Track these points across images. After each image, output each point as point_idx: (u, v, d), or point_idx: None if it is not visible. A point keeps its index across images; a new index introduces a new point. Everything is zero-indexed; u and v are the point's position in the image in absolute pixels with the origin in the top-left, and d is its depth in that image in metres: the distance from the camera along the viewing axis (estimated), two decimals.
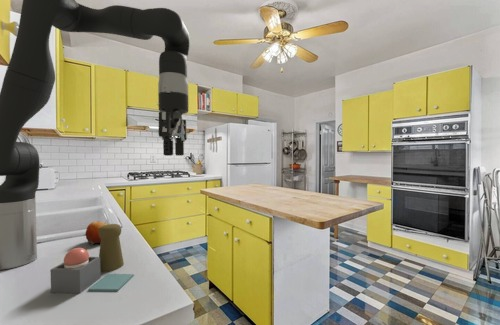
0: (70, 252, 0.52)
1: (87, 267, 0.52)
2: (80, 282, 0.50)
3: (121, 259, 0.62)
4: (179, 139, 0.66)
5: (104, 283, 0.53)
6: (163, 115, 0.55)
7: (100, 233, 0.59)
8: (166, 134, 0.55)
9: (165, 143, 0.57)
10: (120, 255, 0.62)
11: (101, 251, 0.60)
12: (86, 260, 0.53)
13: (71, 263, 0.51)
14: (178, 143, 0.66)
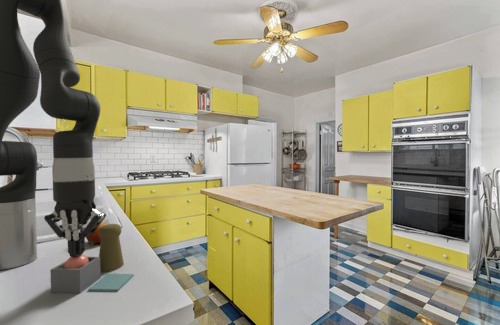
0: (70, 259, 0.52)
1: (87, 267, 0.52)
2: (80, 282, 0.50)
3: (121, 259, 0.62)
4: None
5: (104, 283, 0.53)
6: (100, 219, 0.52)
7: (100, 233, 0.59)
8: (91, 232, 0.53)
9: (81, 243, 0.52)
10: (120, 255, 0.62)
11: (101, 251, 0.60)
12: None
13: None
14: None
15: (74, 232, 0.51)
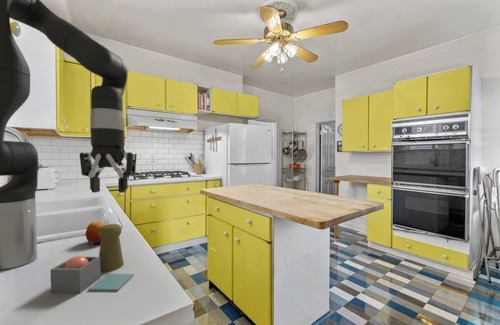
0: (70, 261, 0.52)
1: (87, 267, 0.52)
2: (80, 282, 0.50)
3: (121, 259, 0.62)
4: (96, 174, 0.61)
5: (104, 283, 0.53)
6: (133, 156, 0.61)
7: (100, 233, 0.59)
8: (133, 173, 0.62)
9: (125, 181, 0.61)
10: (120, 255, 0.62)
11: (101, 251, 0.60)
12: None
13: None
14: (96, 179, 0.61)
15: (117, 172, 0.60)
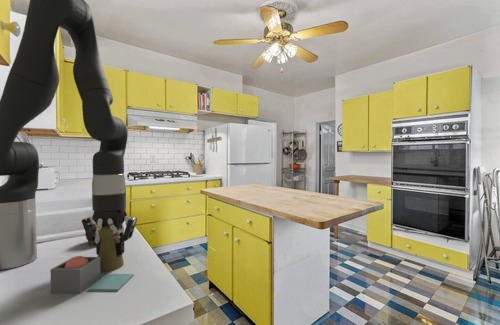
0: (70, 261, 0.52)
1: (87, 267, 0.52)
2: (80, 282, 0.50)
3: (121, 259, 0.62)
4: None
5: (104, 283, 0.53)
6: (134, 222, 0.61)
7: (100, 233, 0.59)
8: (130, 236, 0.62)
9: (122, 245, 0.61)
10: None
11: (101, 251, 0.60)
12: None
13: None
14: None
15: (115, 237, 0.60)
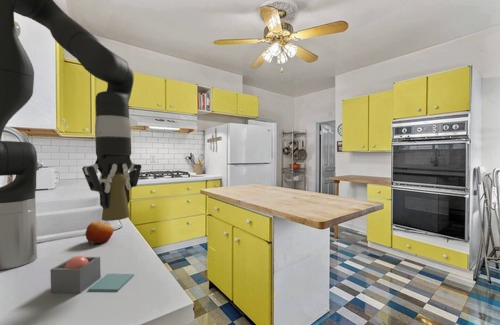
0: (70, 261, 0.52)
1: (87, 267, 0.52)
2: (80, 282, 0.50)
3: None
4: None
5: (104, 283, 0.53)
6: None
7: (117, 179, 0.55)
8: None
9: None
10: None
11: (117, 199, 0.56)
12: None
13: None
14: None
15: (126, 183, 0.59)
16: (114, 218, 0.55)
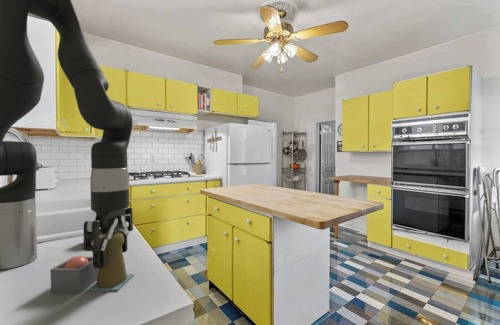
0: (70, 261, 0.52)
1: (87, 267, 0.52)
2: (80, 282, 0.50)
3: None
4: None
5: None
6: None
7: (118, 241, 0.52)
8: None
9: None
10: None
11: (118, 262, 0.53)
12: None
13: None
14: None
15: (125, 231, 0.57)
16: (116, 283, 0.52)
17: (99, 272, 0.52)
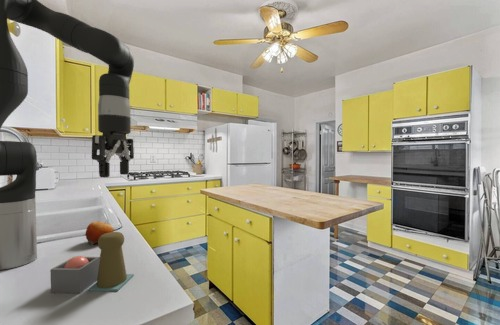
0: (70, 261, 0.52)
1: (87, 267, 0.52)
2: (80, 282, 0.50)
3: None
4: None
5: None
6: None
7: (118, 241, 0.53)
8: None
9: None
10: None
11: (118, 262, 0.53)
12: None
13: None
14: None
15: (127, 156, 0.67)
16: (116, 283, 0.52)
17: (99, 272, 0.52)
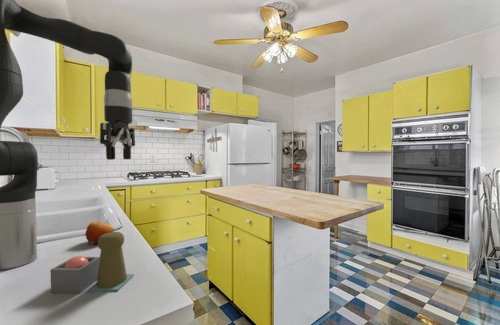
0: (70, 261, 0.52)
1: (87, 267, 0.52)
2: (80, 282, 0.50)
3: None
4: None
5: None
6: None
7: (118, 241, 0.53)
8: None
9: None
10: None
11: (118, 262, 0.53)
12: None
13: None
14: None
15: (129, 143, 0.76)
16: (116, 283, 0.52)
17: (99, 272, 0.52)
